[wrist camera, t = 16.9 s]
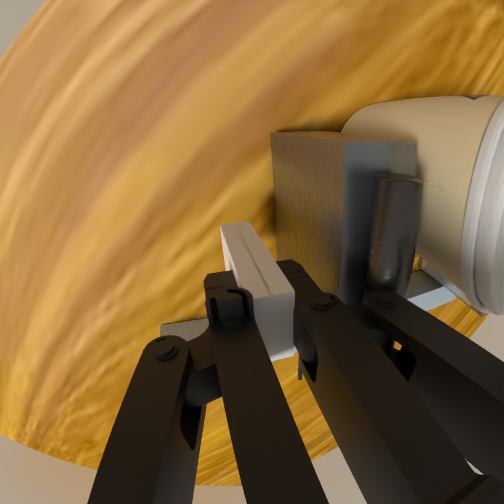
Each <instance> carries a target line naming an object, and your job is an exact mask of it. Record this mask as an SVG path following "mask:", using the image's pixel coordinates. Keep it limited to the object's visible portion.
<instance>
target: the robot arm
mask: <svg viewBox="0 0 504 504" xmlns="http://www.w3.org/2000/svg"><path fill="white" fill-rule="evenodd" d="M220 229H221V237H222V245H223V253H224V261H225V268H226V271H223V272H217V273H211V274H207V276H206V278H205V280H204V281H203V282H204V289H205V295H206V302H205V305H206V310H207V315H208V320H209V325H208V328H207V329H206V330H205V331H204V332H203V333H202V334H201V335H200V336H198V337H196V338H194V339H192V340H189V341H187V342H186V340H185V339H183V338H181V337H179V336H175V335H166V336H161V337H158V338H156V339H154V340H152V341H151V342H150V343H148V344H147V346H146V347H145V349H144V350H143V353H142V355H141V357H140V360H139V362H138V364H137V367H136V369H135V372H134V374H133V376H132V379H131V381H130V384H129V386H128V389H127V391H126V394H125V396H124V399H123V402H122V404H121V407H120V409H119V412H118V415H117V417H116V420H115V423H114V425H113V428H112V431H111V434H110V436H109V439H108V442H107V445H106V448H105V450H104V453H103V456H102V459H101V462H100V465H99V468H98V471H97V474H96V477H95V481H94V484H93V487H92V490H91V493H90V497H89V500H88V503H87V504H192V500H193V493H194V486H195V479H196V472H197V465H198V459H199V452H200V445H201V439H202V432H203V426H204V419H205V413H206V407H207V406H206V404H207V403H209V402H211V401H213V400H215V399H218V398H220V397H223V403H224V407H225V412H226V417H227V422H228V427H229V431H230V436H231V440H232V445H233V449H234V454H235V458H236V462H237V466H238V471H239V475H240V479H241V483H242V487H243V490H244V494H245V498H246V502H247V504H329V502H328V500H327V498H326V495H325V493H324V491H323V488H322V486H321V484H320V481H319V479H318V477H317V474H316V472H315V469H314V467H313V465H312V462H311V460H310V457H309V455H308V453H307V450H306V448H305V445H304V443H303V440H302V438H301V435H300V433H299V431H298V428H297V426H296V423H295V421H294V418H293V416H292V413H291V411H290V408H289V406H288V403H287V401H286V398H285V396H284V393H283V391H282V388H281V385H280V383H279V380H278V378H277V375H276V373H275V370H274V368H273V365H272V362H271V361H275V360H279V359H283V358H287V357H291V356H294V345H295V347H296V349H297V351H298V353H299V362H298V379H299V380H302V373H303V375H304V377H305V379H306V381H307V383H308V385H309V387H310V389H311V391H312V393H313V395H314V397H315V399H316V401H317V403H318V405H319V407H320V409H321V412H322V414H323V416H324V418H325V420H326V422H327V424H328V426H329V428H330V430H331V432H332V434H333V436H334V438H335V440H336V442H337V444H338V446H339V448H340V450H341V452H342V454H343V456H344V458H345V460H346V462H347V464H348V466H349V468H350V470H351V472H352V474H353V476H354V478H355V480H356V482H357V484H358V486H359V488H360V490H361V492H362V494H363V496H364V498H365V500H366V502H367V504H504V362H503V361H501V360H500V359H498V358H497V357H495V356H494V355H492V354H491V353H489V352H488V351H486V350H485V349H484V348H482V347H481V346H479V345H478V344H476V343H475V342H473V341H471V340H470V339H468V338H467V337H465V336H464V335H462V334H461V333H459V332H458V331H456V330H455V329H453V328H451V327H450V326H448V325H447V324H445V323H444V322H442V321H441V320H439V319H437V318H436V317H434V316H433V315H431V314H429V313H428V312H426V311H425V310H423V309H421V308H420V307H418V306H417V305H415V304H413V303H412V302H410V301H408V300H407V299H405V298H404V297H402V296H400V295H399V294H397V293H394V292H392V291H387V290H377V291H374V292H371V293H370V294H369V295H368V296H367V298H366V303H365V304H351V305H350V304H344V303H343V302H342V300H341V299H340V298H338V297H337V296H336V295H333V294H331V293H326V292H322V291H321V289H320V288H319V287H318V286H317V284H316V283H315V282H314V281H313V279H312V278H311V277H309V274H308V273H307V272H306V271H305V269H304V268H303V267H302V266H301V264H300V263H298V262H296V261H294V260H292V259H288V260H282V261H276V262H275V260H274V259H273V257H272V256H271V254H270V253H269V251H268V250H267V248H266V247H265V245H264V243H263V242H262V240H261V239H260V237H259V236H258V234H257V233H256V231H255V230H254V228H253V227H252V225H251V224H250V222H249V221H244V222H237V223H230V224H224V225H220ZM395 341H396V342H398V343H399V344H401V345H402V347H401V350H397V349H395V348H394V344H395ZM464 458H465V459H466V460H467V461H468V462H469V463H471V464H472V465H473V466H474V467H475V468H477V469H478V470H479V471H480V472H481V473H483V474H484V475H479V474H477V473H475V472H474V471H473V470H472V469H471V467H470V466H469V464H468V463H467V461H466V460H465V459H464Z"/></svg>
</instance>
